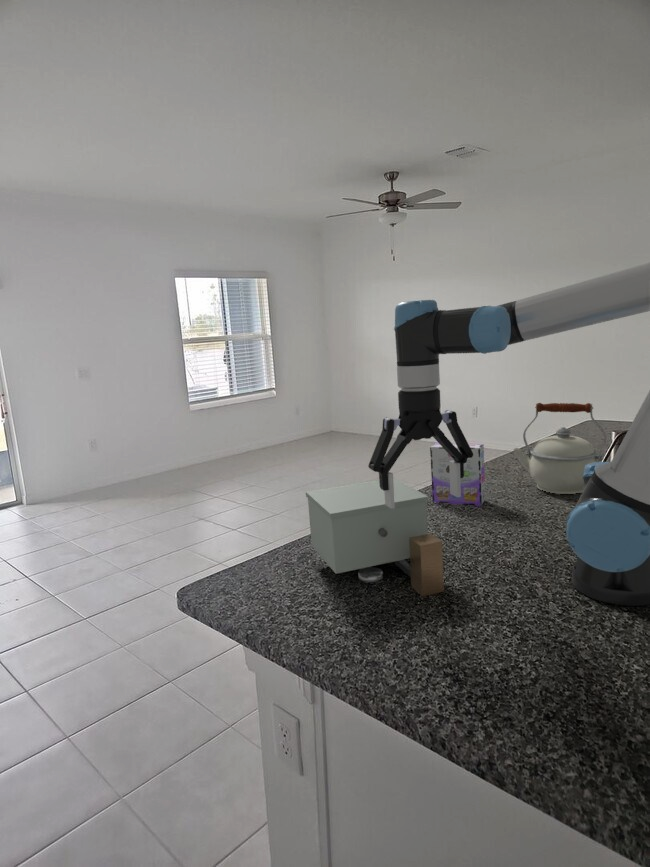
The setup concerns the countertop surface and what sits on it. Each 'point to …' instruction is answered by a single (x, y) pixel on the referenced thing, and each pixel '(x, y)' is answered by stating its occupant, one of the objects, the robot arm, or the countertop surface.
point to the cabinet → (365, 524)
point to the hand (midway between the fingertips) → (423, 500)
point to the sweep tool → (424, 564)
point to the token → (370, 574)
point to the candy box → (469, 483)
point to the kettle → (560, 454)
